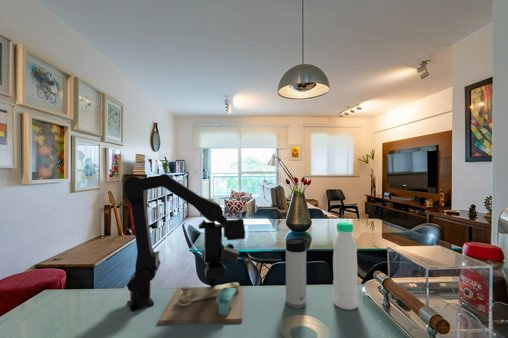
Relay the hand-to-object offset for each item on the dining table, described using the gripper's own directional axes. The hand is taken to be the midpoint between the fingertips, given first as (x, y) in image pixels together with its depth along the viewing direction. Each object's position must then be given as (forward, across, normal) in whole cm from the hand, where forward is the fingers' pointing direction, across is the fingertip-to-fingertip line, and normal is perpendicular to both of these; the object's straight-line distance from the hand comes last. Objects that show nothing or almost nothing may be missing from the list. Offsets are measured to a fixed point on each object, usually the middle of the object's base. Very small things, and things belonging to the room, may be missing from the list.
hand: (213, 288), depth 83 cm
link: (+1, -2, +1) cm, 3 cm away
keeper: (+1, -7, +3) cm, 8 cm away
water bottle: (+2, -17, -39) cm, 42 cm away
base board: (+2, -5, +3) cm, 6 cm away
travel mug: (+2, -12, -24) cm, 27 cm away
